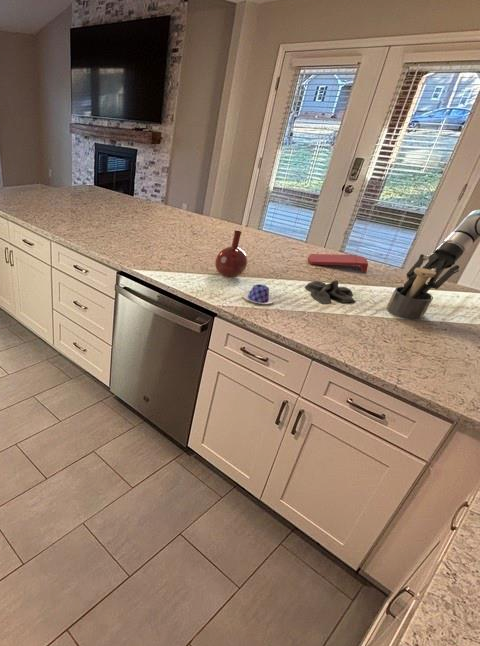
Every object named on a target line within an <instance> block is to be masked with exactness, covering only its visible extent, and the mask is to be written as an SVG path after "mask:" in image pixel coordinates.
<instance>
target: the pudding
mask: <svg viewBox="0 0 480 646" xmlns="http://www.w3.org/2000/svg"><path fill="white" fill-rule="evenodd" d="M242 297H243V298H244V299H245V300H247V301H249V302H252V303H255V304H259V305H260V304H261V305H270V304H272V303H274V302H275V298H274V297H273V296H272V295H271V294H270V287H268V286H267V285H266V284H261V283H260V284H258V283H256V284H254V285H253V286H252V287H251V289H250V290H247V291H244V292H243V293H242Z"/></svg>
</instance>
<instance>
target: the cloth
mask: <svg viewBox="0 0 480 646" xmlns="http://www.w3.org/2000/svg"><path fill="white" fill-rule="evenodd" d="M304 288H305V290H307V291H309V292H310V296H311V298H313V299H314V300H316V301H317V302H319V303H320V304H322V305H328V304H332V300H334V301H336V302H338V303H340V304H346V303H356V301H355V299H354V298H353V297H354V295H353V291H352V290H351V289H350V288H349V287H346V286H339V280H337V279H334V280H332V281H331V282H330V283H327V284H326V283H325V282H324V281H319V280H313V281H310V282H309V283H307V284H306V285H305V286H304Z"/></svg>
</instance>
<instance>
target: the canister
mask: <svg viewBox="0 0 480 646" xmlns="http://www.w3.org/2000/svg"><path fill="white" fill-rule="evenodd" d="M403 288H404V286H396V287H394V289H393V292H392V294H391V296H390V297H389V300H388V302H387V304H386V308H385V309H386V310H387V312H389V313H390V314H391V315H394V316H396V317H398V318H402V319H404V320H405V319H406V320H412V321H413V320H415V321H419V320H422V319H423V318H424V317H425V315H426V314H427V311H428V309H429V307H430V306H431V303H432V302H433V300H434V296H433V295H432V294H431V293H429V292H427V293H426V294H424V295H423V294H421V295H420V296H419V298H418V299H414V298H410V297H407V296H406V294H407V293H406V294H405V295H402V294H400V292H401V291H402V290H403ZM408 291H409V290H408Z"/></svg>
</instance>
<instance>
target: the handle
mask: <svg viewBox="0 0 480 646" xmlns="http://www.w3.org/2000/svg"><path fill="white" fill-rule="evenodd" d="M435 271H436V270H435ZM435 271H434V270H432V269H431V270H429V269H425V268H422V267H420V268H418V267H417V268H415V270H414V272H415V274H417V277H416V279H415V281H414V282H413V284H412V286H411V287H410V289H409V291H408V292H407V294H406V296H407V297H410V298H412V296H413V295H414V294H415V293H416V292H417V291H418V290H419V289H420V288H421V287H422V286H423V285H424V284H427V282H428V279H431V277H434V276H435V275H436V272H435ZM418 298H419V297H418ZM418 298H417V299H418Z"/></svg>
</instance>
